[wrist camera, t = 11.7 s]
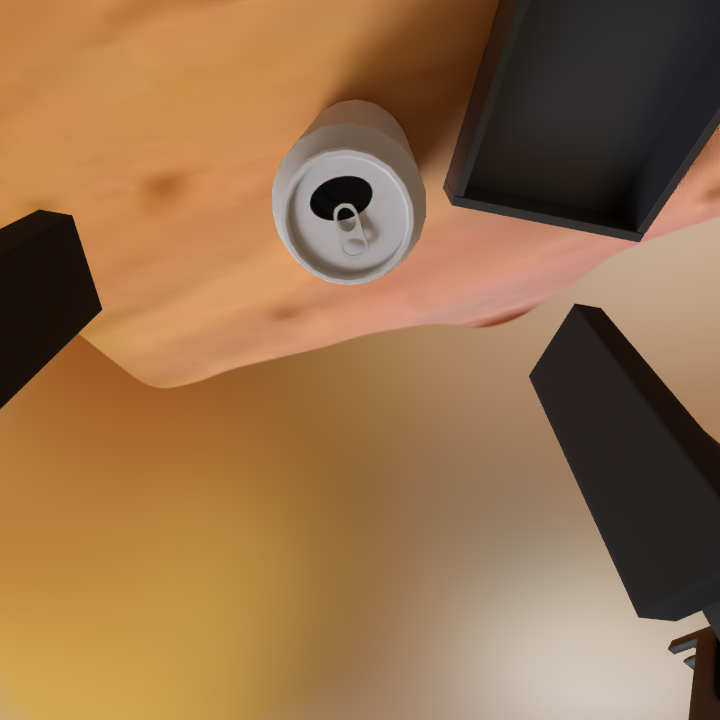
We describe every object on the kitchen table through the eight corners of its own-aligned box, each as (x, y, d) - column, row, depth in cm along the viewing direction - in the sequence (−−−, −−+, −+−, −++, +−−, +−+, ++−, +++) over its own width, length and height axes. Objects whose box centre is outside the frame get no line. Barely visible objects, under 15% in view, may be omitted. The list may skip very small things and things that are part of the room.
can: (396, 80, 23) (412, 101, 14) (419, 201, 28) (442, 278, 19) (284, 120, 25) (232, 163, 15) (323, 229, 29) (301, 312, 20)
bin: (526, -88, 19) (554, -113, 16) (761, -23, 20) (827, -35, 17) (442, 188, 27) (451, 205, 24) (612, 222, 28) (639, 242, 25)
